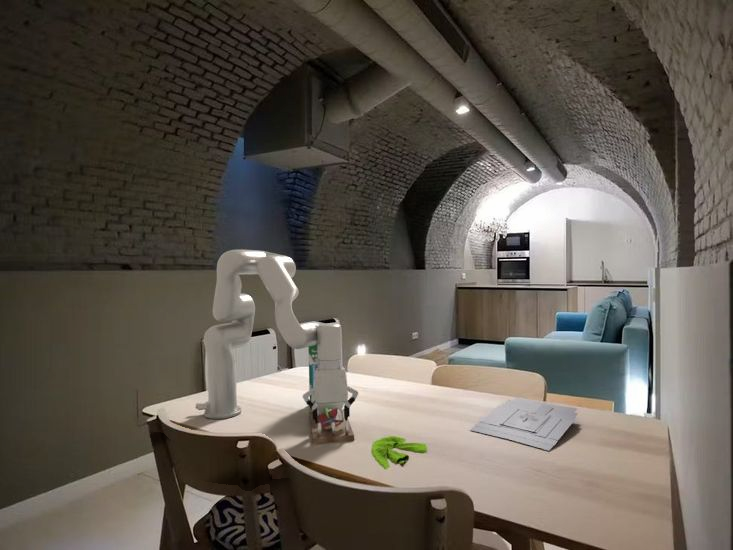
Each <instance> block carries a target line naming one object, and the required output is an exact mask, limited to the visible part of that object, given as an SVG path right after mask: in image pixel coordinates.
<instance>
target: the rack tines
mask: <svg viewBox="0 0 733 550" xmlns="http://www.w3.org/2000/svg"><path fill="white" fill-rule="evenodd" d="M328 410H329V411H331V410H330V409H328ZM317 412H318V415H319V410H317ZM341 413H342V420H343V421H341V422H344V407H343V408H341ZM348 421H349V419H348V420H346V421H345V435H349V425H348ZM316 424H318V437H322V435H321V423H319V418H318V422H317V423H316ZM332 436H335V422H334V421H333V422H332Z"/></svg>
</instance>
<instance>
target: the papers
mask: <svg viewBox="0 0 733 550" xmlns="http://www.w3.org/2000/svg"><path fill="white" fill-rule="evenodd" d="M577 410H578V408H575V407H572V406H571V407H570V406H564V405H559V404H554V403H548V402H544V401H538V400H533V399H527V398H522V397H518V396H515V397H514V398H512V399H507V400H505V402H502V403H501V404H499V405H498V406H496V407H495V408H494V409H492V410H491V411H489V413H488V414H486V415H485V416H484V417H482V419H480V420H478V422H477V423H475V424H474V426H473V427H472V428H471V429H470V431H473V432H476V433H481V434H484V435H489V436H493V437H498V438H502V439H506V440H511V441H513V442H517V443H521V444H524V445H528V446H531V447H535V448H537V449H542V450H545V451H550V450H552V448H553V447H554V446H555V445H556V444H557V443H558V442H559V440H560V439H561V438H562V436H563V435H564V434H565V433H566V431H567V430H568V429H569V428H570V427H571V425H573V423H574V422H575V421H576V419H577V416H578V415H579V413H578V412H576V411H577Z"/></svg>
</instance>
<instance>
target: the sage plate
mask: <svg viewBox="0 0 733 550" xmlns="http://www.w3.org/2000/svg"><path fill="white" fill-rule="evenodd" d="M314 400H315V399H314V394H312V397H311V402H314ZM344 406H345V404H344V402H338V403H324V404H319V405H318V406H317V410H319V415H322V414H324V413H326V412H325V409H326V407H327V408H328V409H330V408H331V411H332V410H334V409H335V408H336V409H337V408H338V410H339V411H341V408H343V409H344ZM333 407H334V408H333ZM322 412H323V413H322Z"/></svg>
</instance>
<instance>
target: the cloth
mask: <svg viewBox="0 0 733 550" xmlns="http://www.w3.org/2000/svg"><path fill="white" fill-rule="evenodd" d="M406 441H407V439H406V438H404V437H401V436H395V435H388V436H385V437H381V438H380V439H377V440H375V441H373V442H372V445H371V455H372V456H373V458H374V459H375V460H376V462H377V463H378V464H379V465H380V466H381V467H382V468H383V469H390V467H391V465H390V464H389V461H390V462H391V463H393V464H395V465H396V464H397V463H398V464H399V465H401V466H402V467H405V465H404V463H407V462H408V461H409V460H410V456H409V455H408V454H406V453H405V452H406V451H407V452H412V453H416V454H417V453H419V454H427V453H428V449H427V443H419V442H406ZM393 449H397V450H400V451H401V450H402V451H405V452H404V453H403V452H398V451H397V450H393ZM388 460H389V461H388Z"/></svg>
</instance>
